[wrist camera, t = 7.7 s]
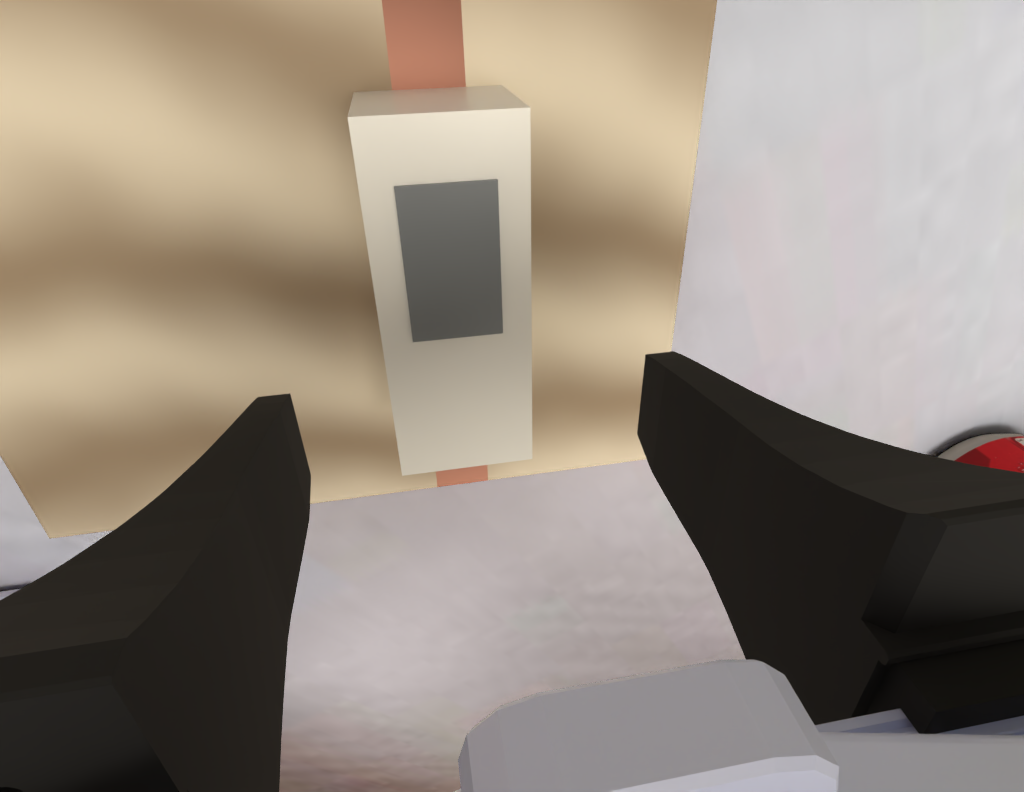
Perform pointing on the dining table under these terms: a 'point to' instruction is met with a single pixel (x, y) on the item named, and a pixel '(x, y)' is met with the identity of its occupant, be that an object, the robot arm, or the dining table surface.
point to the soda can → (990, 451)
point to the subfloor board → (311, 228)
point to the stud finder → (450, 268)
